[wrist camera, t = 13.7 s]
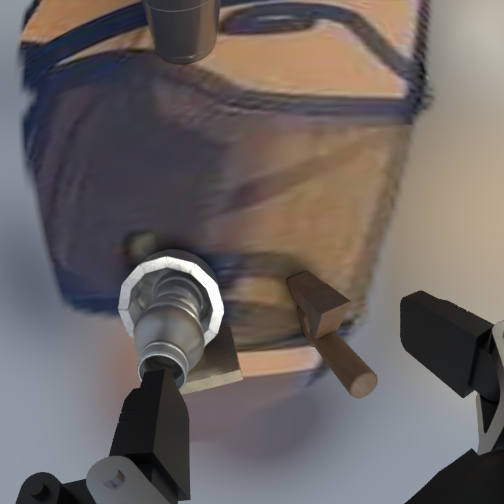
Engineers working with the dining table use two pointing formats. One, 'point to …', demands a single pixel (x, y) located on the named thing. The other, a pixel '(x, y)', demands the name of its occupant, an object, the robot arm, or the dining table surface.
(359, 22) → the dining table surface
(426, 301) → the robot arm
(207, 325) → the ring
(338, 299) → the wooden wedge with rod
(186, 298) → the plastic bottle
